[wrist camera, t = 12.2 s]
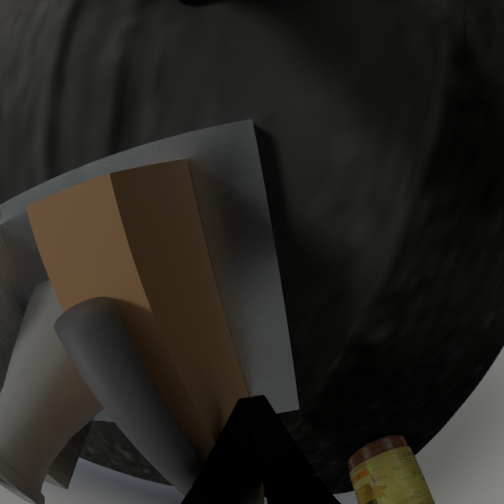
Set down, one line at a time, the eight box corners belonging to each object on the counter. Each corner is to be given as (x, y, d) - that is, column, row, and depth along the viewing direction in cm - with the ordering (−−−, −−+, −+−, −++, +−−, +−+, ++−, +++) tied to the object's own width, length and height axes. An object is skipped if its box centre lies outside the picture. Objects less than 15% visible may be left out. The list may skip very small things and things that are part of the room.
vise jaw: (186, 158, 10) (69, 183, 3) (253, 408, 15) (261, 531, 8) (139, 171, 10) (-17, 223, 3) (220, 412, 15) (217, 533, 8)
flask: (159, 386, 14) (124, 545, 5) (58, 369, 14) (-5, 485, 5) (138, 272, 12) (17, 472, 3) (23, 266, 12) (-98, 376, 2)
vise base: (251, 122, 11) (274, 68, 3) (296, 398, 16) (319, 506, 9) (-17, 216, 11) (-107, 263, 4) (78, 409, 17) (46, 485, 9)
